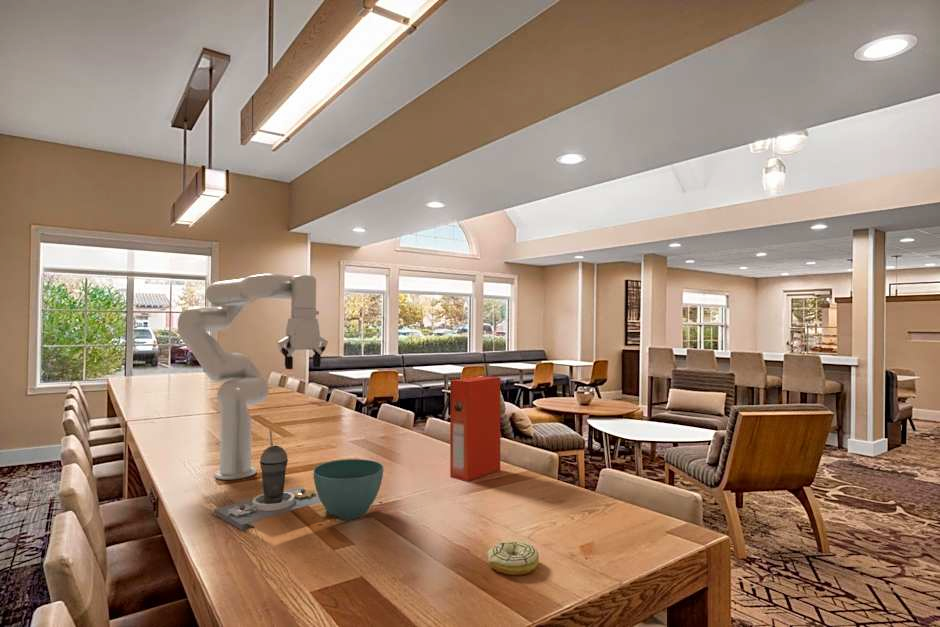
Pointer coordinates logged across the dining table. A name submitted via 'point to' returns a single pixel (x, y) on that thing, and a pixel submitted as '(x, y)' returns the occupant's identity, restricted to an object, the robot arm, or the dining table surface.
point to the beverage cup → (273, 473)
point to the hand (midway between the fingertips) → (303, 368)
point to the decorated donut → (513, 558)
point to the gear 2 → (303, 494)
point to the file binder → (474, 427)
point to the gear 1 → (241, 511)
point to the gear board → (261, 514)
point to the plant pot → (348, 486)
